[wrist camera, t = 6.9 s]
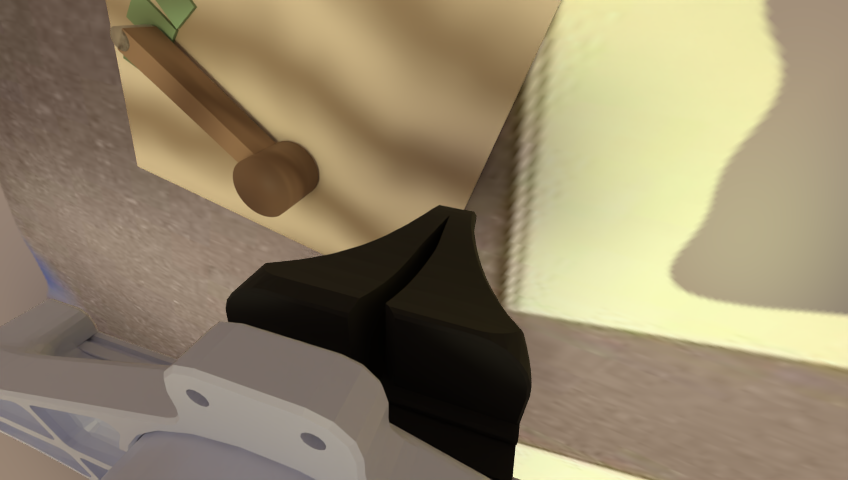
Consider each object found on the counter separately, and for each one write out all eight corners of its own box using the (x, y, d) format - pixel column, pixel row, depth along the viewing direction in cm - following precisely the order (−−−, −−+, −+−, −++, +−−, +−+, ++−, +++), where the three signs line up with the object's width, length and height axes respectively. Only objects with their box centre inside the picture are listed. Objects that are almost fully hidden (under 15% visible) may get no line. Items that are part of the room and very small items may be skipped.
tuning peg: (328, 172, 23) (298, 194, 20) (301, 204, 25) (271, 227, 22) (155, 0, 20) (96, 0, 17) (140, 51, 22) (85, 58, 20)
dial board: (426, 290, 27) (420, 302, 26) (151, 160, 29) (135, 167, 28) (599, -83, 14) (603, -91, 13) (78, -286, 16) (41, -308, 15)
